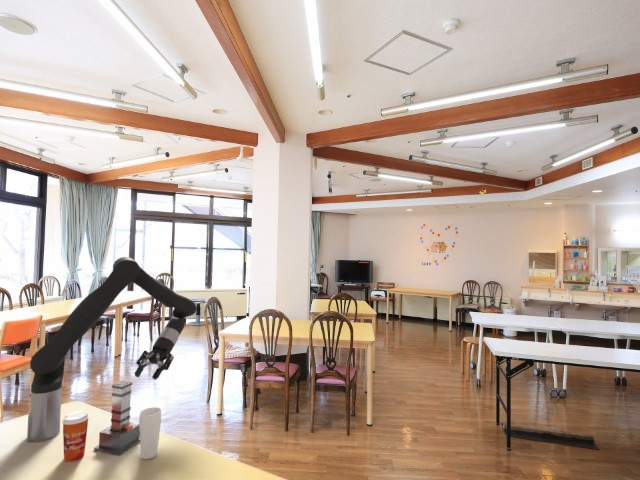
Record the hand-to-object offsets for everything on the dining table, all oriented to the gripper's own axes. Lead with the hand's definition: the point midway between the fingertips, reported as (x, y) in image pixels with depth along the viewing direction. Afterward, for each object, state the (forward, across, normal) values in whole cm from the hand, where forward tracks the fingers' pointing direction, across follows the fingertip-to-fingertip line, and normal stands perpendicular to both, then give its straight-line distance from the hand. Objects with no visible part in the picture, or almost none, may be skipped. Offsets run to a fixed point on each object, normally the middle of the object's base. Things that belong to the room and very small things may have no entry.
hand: (145, 377), depth 137 cm
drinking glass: (+24, +15, +6) cm, 29 cm away
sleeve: (+22, 0, +7) cm, 23 cm away
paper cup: (+30, -8, -1) cm, 31 cm away
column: (+19, 0, +3) cm, 19 cm away
